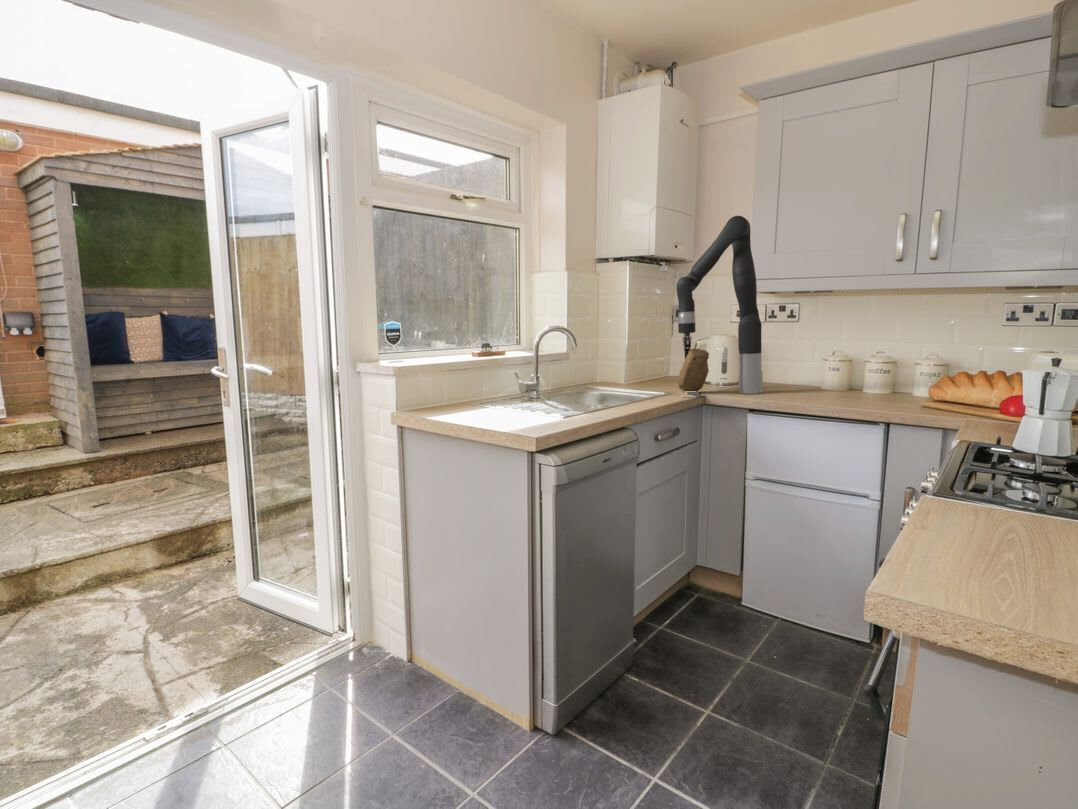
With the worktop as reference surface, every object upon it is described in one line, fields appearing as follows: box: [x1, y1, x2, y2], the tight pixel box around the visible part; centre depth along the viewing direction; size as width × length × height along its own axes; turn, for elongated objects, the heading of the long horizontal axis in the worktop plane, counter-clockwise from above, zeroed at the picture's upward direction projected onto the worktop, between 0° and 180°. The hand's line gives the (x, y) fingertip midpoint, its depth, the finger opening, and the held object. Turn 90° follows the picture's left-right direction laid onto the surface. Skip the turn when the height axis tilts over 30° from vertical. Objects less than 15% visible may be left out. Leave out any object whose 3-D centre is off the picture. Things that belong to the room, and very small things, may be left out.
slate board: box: [687, 391, 701, 398], centre depth 253 cm, size 8×12×1 cm, turn 169°
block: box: [677, 348, 710, 392], centre depth 260 cm, size 11×8×20 cm
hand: (687, 360), depth 265 cm, fingers closed
